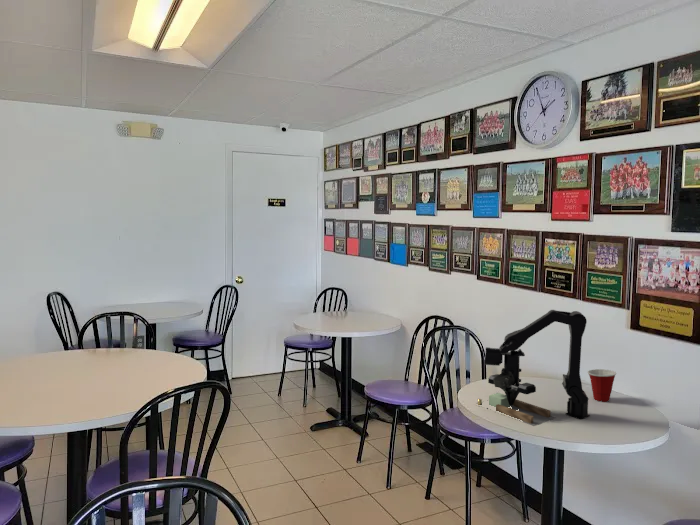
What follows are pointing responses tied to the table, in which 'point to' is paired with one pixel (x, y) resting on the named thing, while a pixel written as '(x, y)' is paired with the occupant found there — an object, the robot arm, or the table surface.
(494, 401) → the sage block
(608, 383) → the plastic cup
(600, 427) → the table surface
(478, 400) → the brass pegs
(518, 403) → the walnut channel
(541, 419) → the charcoal runway
